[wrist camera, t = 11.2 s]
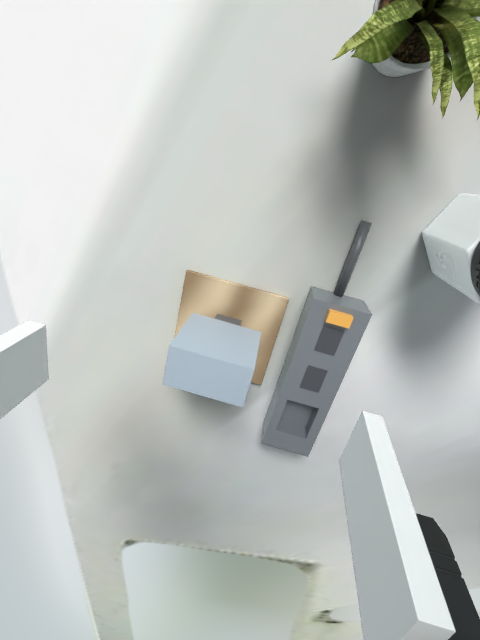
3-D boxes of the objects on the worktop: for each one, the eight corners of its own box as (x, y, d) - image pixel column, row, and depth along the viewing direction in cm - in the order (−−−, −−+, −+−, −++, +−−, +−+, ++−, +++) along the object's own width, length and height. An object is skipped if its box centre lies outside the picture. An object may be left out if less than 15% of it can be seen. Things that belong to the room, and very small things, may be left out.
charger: (197, 306, 39) (169, 345, 30) (262, 324, 39) (254, 369, 30) (190, 338, 41) (162, 384, 32) (253, 355, 41) (242, 407, 32)
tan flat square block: (288, 297, 38) (288, 299, 37) (261, 382, 43) (260, 385, 42) (187, 269, 38) (186, 271, 38) (171, 356, 43) (170, 359, 43)
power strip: (336, 213, 34) (343, 219, 29) (394, 229, 33) (410, 236, 29) (263, 421, 45) (261, 447, 41) (306, 434, 45) (308, 461, 41)
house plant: (366, 184, 32) (431, 191, 17) (274, 59, 29) (258, -60, 15) (518, 57, 27) (795, -87, 12) (424, -109, 24) (638, -562, 9)
